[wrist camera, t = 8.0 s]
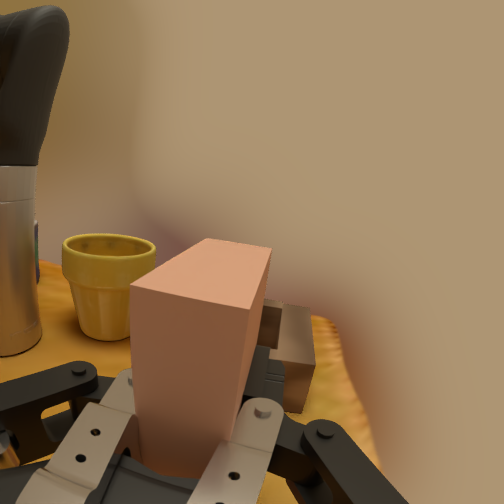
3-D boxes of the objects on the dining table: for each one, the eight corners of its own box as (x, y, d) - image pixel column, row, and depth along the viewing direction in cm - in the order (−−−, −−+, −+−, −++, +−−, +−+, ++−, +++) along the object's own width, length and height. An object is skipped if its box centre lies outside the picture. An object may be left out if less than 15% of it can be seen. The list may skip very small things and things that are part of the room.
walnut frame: (170, 391, 24) (171, 341, 22) (209, 328, 36) (212, 289, 35) (301, 417, 22) (315, 368, 21) (300, 345, 35) (309, 306, 34)
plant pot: (170, 327, 35) (176, 245, 33) (107, 363, 25) (103, 262, 23) (111, 301, 38) (112, 229, 36) (50, 324, 29) (44, 239, 27)
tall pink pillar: (156, 532, 9) (129, 284, 6) (191, 450, 14) (207, 237, 12) (212, 547, 8) (249, 309, 6) (235, 461, 14) (272, 248, 12)
